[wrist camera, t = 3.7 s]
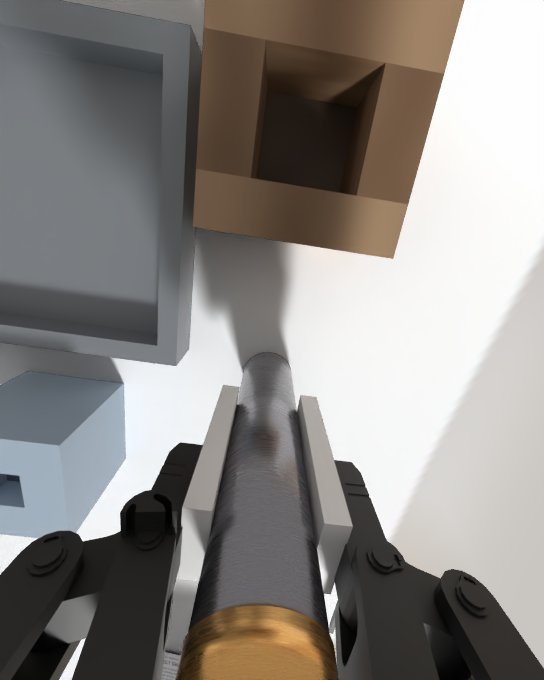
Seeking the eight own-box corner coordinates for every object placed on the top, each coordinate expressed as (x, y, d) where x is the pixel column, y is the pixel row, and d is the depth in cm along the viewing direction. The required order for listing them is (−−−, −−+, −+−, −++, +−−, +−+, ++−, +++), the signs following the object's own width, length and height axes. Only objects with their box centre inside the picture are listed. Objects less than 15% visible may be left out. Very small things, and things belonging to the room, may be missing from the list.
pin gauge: (240, 392, 19) (162, 768, 5) (245, 348, 18) (167, 675, 4) (287, 398, 19) (325, 778, 6) (295, 355, 18) (366, 691, 5)
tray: (-51, 316, 17) (-103, 328, 15) (-121, 3, 12) (-213, -53, 10) (189, 349, 18) (176, 366, 15) (205, 64, 13) (190, 25, 11)
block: (39, 447, 20) (-52, 528, 14) (28, 370, 18) (-82, 429, 13) (126, 457, 20) (70, 541, 15) (124, 382, 18) (59, 445, 13)
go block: (214, 230, 15) (192, 227, 11) (229, 40, 13) (208, -59, 9) (360, 253, 16) (393, 258, 12) (403, 73, 13) (465, -6, 9)
